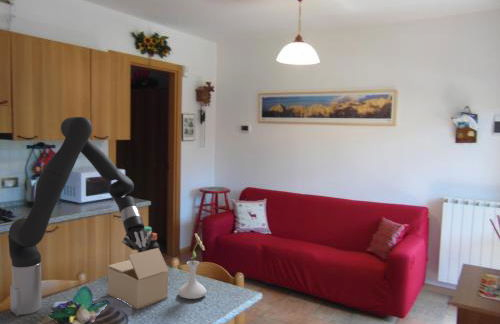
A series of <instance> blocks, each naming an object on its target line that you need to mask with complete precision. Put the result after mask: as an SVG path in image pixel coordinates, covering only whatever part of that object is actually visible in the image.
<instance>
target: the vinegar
mask: <svg viewBox="0 0 500 324" xmlns="http://www.w3.org/2000/svg"><path fill="white" fill-rule="evenodd" d="M151 233H152V234H153V237H152V239H151V242H150V244H149V245H148V247H147V248H146V250H147V251H148V250H152V249H156V248H159V249H160V244H159V243H158V242H157V240H158V233H156V232H151ZM151 233H149V234H151ZM146 237H147V236H146ZM146 242H147V238H146ZM145 244H146V243H145Z"/></svg>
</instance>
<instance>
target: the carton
mask: <svg viewBox="0 0 500 324" xmlns="http://www.w3.org/2000/svg"><path fill="white" fill-rule="evenodd" d="M107 275H108V276H107V277H108V278H107V279H108V280H107V286H108V288H107V290H108V291H107V293H108V295H109V296H110V297H112V298H114V299H116V298H119V299H121V300H123V301H125V302H126V303H128V304H129V305H131V306H132V308H134V309H135V310H137V311H138V310H141V309H143V308H146V307H148V306H151V305H154V304H157V303H159V302H162V301H163V300H167V299H168V297H169V296H168V295H169V293H168V292H169V290H168V289H169V287H168V285H169V284H168V283H169V278H168V277H169V270H168V271H166V272H162V273H159V274H156V275H153V276H150V277H146V278H143V279H140V280H138V278H137V275H136V273H135V270H131V271H127V272H124V273H121V272H119V271H117V270H114V269H112V268H110V267H108V269H107ZM129 305H128V306H129ZM131 306H130V307H131Z"/></svg>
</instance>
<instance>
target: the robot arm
mask: <svg viewBox="0 0 500 324" xmlns="http://www.w3.org/2000/svg"><path fill="white" fill-rule="evenodd" d="M60 132H61V134H62V136H64V139H63V140H64V141H63V142H62V144H61V146H60V148H59V149H58V150H57V151H56V152H55V153H54V154H53V156H52V157H51V158H50V159H49V160H48V162H47V163H46V164H45V166H44V167H43V169H42V170H41V173H40V174H39V177H38V179H37V182H36V185H35V191H34V200H33V205H32V207H31V209H30V212H29V214H28V215H27V217H26V218H23V217H21V218H18V219H17V220H15V221H13V223H11V225H10V227H9V230H8V250H9V257H10V261H11V283H12V284H11V285H9V287H10V288H9V293H10V294H9V296H10V301H9V302H10V312H12V313H13V314H14V315H15V316H23V315H29V314H33V313H36V312H38V311H40V310H41V309H42V304H43V302H42V301H43V300H42V256H41V253H40V252H39V250H38V247H37V245H38V244H39V243H40V242H41V241H42V240H43V238H44V236H45V233H46V230H47V229H48V225H49V223H50V220H51V217H52V214H53V211H54V209H55V207H56V205H57V203H58V201H59V198H61V194H62V193H63V190H65V186H66V184H67V182H68V180H69V178H70V176H71V173H72V171H73V168H74V167H75V166H76V162H77V160H78V158H79V155H80V154H82V155H83V156H84V157H85V158H86V159H87V160H88V162H89V163H90V164H91V166H93V168H94V169H95V170H96V172H97V173H98V174H99V175H100V177H101V178H102V179H103V180H104V181H105V182H112V183H110V184H109V185H108V187H107V188H108V190H107V191H108V194H109V195H110V196H111V198H112V199H113V200H114V201H115V203H116V205H117V208H118V210H119V213H120V214H119V215H120V218H121V222H122V225H123V227H124V231H125V236H124V237H123V239H122V241H121V243H122V244H124V245H126V246H127V247H128V248H129V249H130V250H133V251H137V253H140V252H144V251H147V250H146V248H147V247H148V245H149V244H150V242H151V239H152V237H153V234H152V233H153V232H151V234H149V233H147V231H146V230H145V228H144V227H145V224H144V221H143V219H142V216H141V213H140V211H139V209H138V207H137V204H136V200H135V198H134V197H133V196H130V195H128V194H130V193H132V192H133V191H134V189H135V184H134V182H133V181H132V179H130V177H129V176H127V175H125V174H124V173H122V171H121V170H119V169H118V168H117V166H116V165H115V164H114V163H113V161H112V160H111V158H110V157H109V156H108V155H107V154H106V153H105V152H104V151H102V150H101V149H100V148H99V147H98V146H97V145H95V143H94V142H93V141H92V139H90V137H91V135H92V132H93V126H92V122H91V121H90V119H88V118H87V117H83V116H75V117H74V116H73V117H68V118H65V119H64V120H63V121H62V122H61V124H60ZM113 181H114V182H113ZM126 195H127V196H126ZM146 236H147V237H146ZM145 237H146V238H147V242H146V244H145Z"/></svg>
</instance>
